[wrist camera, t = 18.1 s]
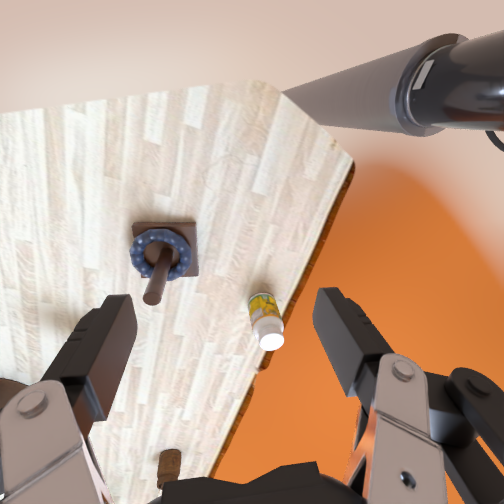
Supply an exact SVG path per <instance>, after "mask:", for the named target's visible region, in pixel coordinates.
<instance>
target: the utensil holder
mask: <svg viewBox="0 0 504 504" xmlns="http://www.w3.org/2000/svg"><path fill="white" fill-rule="evenodd" d="M180 467H181V452H180V451H178V450H175V449H171V450H166V451H164V452H162V454H161V455H160V459H159V465H158V472H157V477H158V481H157V488H158V489H161V490H163V483H164V482H169V481H176V480H178V476H179V474H180ZM159 491H160V490H159ZM161 492H162V491H161ZM160 496H161V495H160ZM156 498H157V497H156Z"/></svg>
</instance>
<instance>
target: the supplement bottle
mask: <svg viewBox="0 0 504 504" xmlns="http://www.w3.org/2000/svg"><path fill="white" fill-rule="evenodd" d="M248 309H249V315H250V320H251V325H252V330H253V334H254V336H255V337H256V338H257V339H258V340H259V344H260V347H261V348H262V349H264V350H268V351H271V350H275V349H278V348H279V347H281V346H282V344H283V343H284V337H283V333H282V332H283V329H284V325H283V322H282V319H281V316H280V313H279V310H278V307H277V304H276V301H275V298H274V297H273V296H272V295H271V294H268V293H258V294H255V295H254V296H252V297H251V298H250V300H249V302H248Z"/></svg>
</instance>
